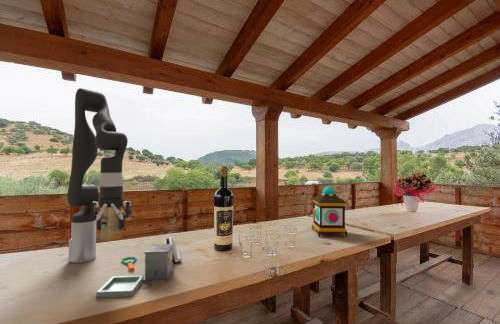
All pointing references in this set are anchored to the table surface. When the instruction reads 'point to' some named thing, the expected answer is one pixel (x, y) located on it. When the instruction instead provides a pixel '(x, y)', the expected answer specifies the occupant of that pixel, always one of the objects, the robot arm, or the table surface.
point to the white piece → (174, 250)
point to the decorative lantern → (329, 213)
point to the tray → (120, 286)
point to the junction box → (158, 262)
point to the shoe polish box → (110, 224)
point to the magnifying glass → (130, 263)
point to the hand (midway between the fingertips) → (111, 229)
